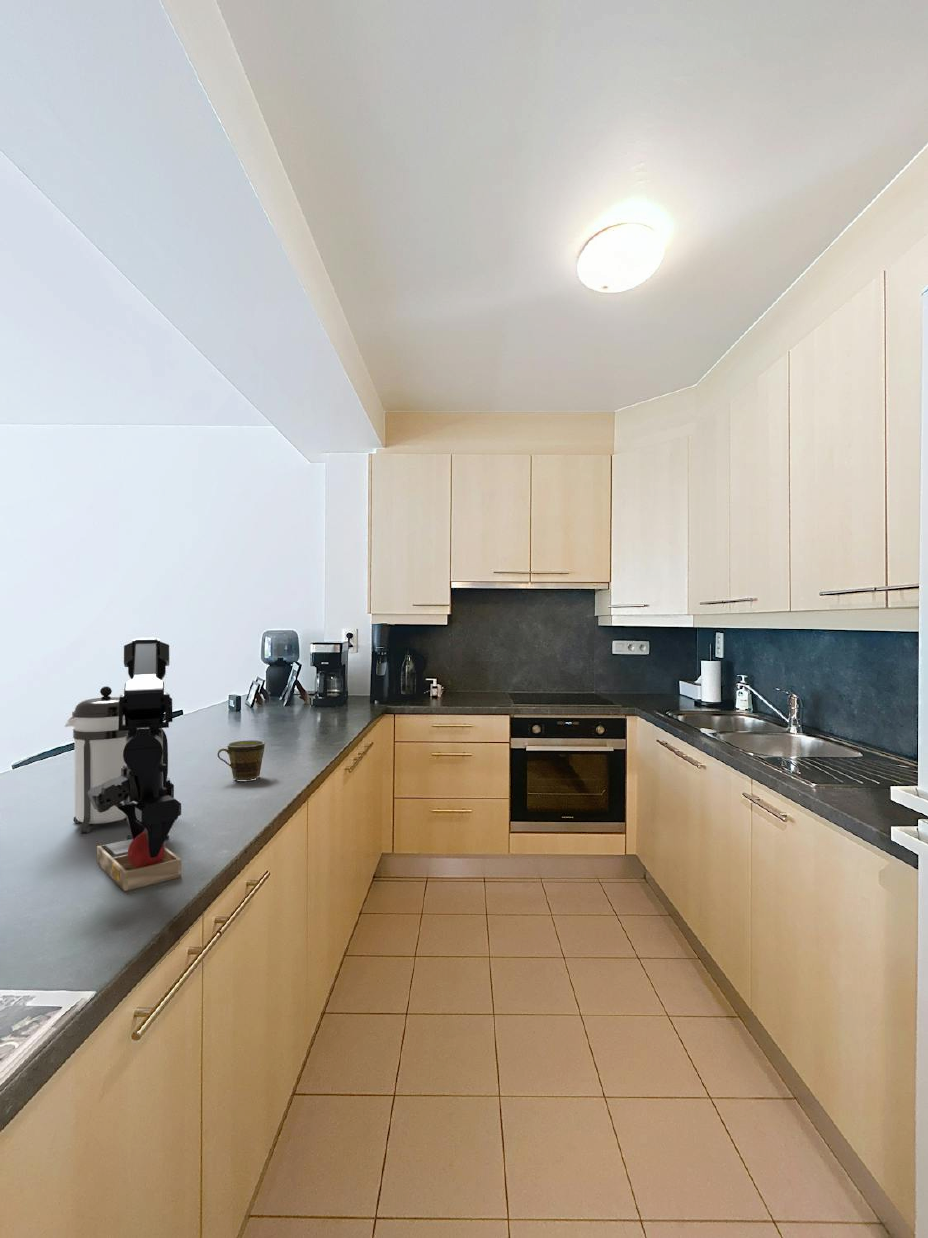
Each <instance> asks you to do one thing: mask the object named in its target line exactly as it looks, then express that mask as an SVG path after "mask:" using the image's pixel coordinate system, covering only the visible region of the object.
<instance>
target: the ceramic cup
mask: <svg viewBox="0 0 928 1238" xmlns="http://www.w3.org/2000/svg"><path fill="white" fill-rule="evenodd" d="M265 744H266V742H265V741H263V740H255V739H254V740H253V739H251V740H250V739H249V740H238V741H233V742H230V743H228V744H227V745H226V746H227V747H226V748H221V749H219V750H218V752H217V754H216V755H217V758H218V759H219V760H221V761H222V762H224V763H225V764H226V765H228V766H229V768H231V773H232V779H233V780H234V779H235V780H251V779H255V778H257V777H258V776H259V777H260V774H261V769H262V763H263V757H264V752H265ZM223 751H224V752H226V753H227V754H228V757H229V761H230V763H229V762H227V761H226V760H225V759H223V758H222V757H221V756H220V753H221V752H223Z"/></svg>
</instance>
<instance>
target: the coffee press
mask: <svg viewBox="0 0 928 1238" xmlns="http://www.w3.org/2000/svg"><path fill="white" fill-rule="evenodd" d="M112 692H113V690H112V688H111V687H110V686H103V687H101V689H100V691H99V693H100V695H101V697H96V698H90V699H85V700H82V701H81V702H78V704H77V705H76V706H75V708H74V711H72V713H71V716H70V717H69V719H68V720H67V721H66V723H65V724H64V728H66V727H67V728H68V727H73V730H72V739H74V816H73V820H72V821H73V823H75V824H79V823H81V826H80V828H79V832H80V833H81V834H89V833H90V832H91V831H92V829H93V827H94V826H95V825H98V824H107V823H113V822H117V821H120V820H121V821H122V820H125V821H127V819H126V815H125V814H124V812H123V811H121V810H120V809H118V808H117V807H116V806H115V805H114V806H112V807H110V809H109V810H107V811H105V812H101V813H99V812H98V811H97V810H96V809H94V807H93V804H92V802H91V800H90V798H89V795H88V793H87V792H88V791H89V790H90V789H92V788H94V787H96V786H99V785H101V784H103V783H105V782H107V781H109V780H111V779H114V778H116V777H119V776H121V768H123V766H125V765H126V763H125V761H124V759H123V751H124V748H125V744H126V734H127V733H128V731H129V730H125V731H118V725H119V698H120V696H115V697H114V696H110V695H112ZM123 724H125V715H123ZM161 730H162V731H163V764H165V765H167V771H166V778H168V775H169V773H168V771H169V748H168V745H169V743H168V737H167V734H166V731H164V728H161Z"/></svg>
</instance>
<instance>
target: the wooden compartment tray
mask: <svg viewBox="0 0 928 1238" xmlns="http://www.w3.org/2000/svg"><path fill="white" fill-rule="evenodd" d="M132 841H133V839H130V840H128V839H126V840H122V841H115V842H111V843H107V844H102V845H97V846H96V863H97V864H98V866H100V868H101V869H102V870H104V872H105V873H106V874H107V875H108V876H109V877H110V878H111V879H112V880H113V881H114V883H116V884H117V886H119V887H120V888H121V889H122V890H123V891H124V892H127V891H131V890H135V889H139V888H143V887H146V886H150V885H155V884H157V883H162V882H167V881H170V880H173V879H174V880H175V879H178V878H181V877H182V858H181V857H179V856H178V855H176V854H175V853H174V852H172V851H171V850H170V849H169V848H167V847H166V846H165V852H164V856H163V858H162V860H161V861H160V863H158V864H155V865H151V866H147V867H143V868H138V869H136V868H135V867H133V866H132V865H131V864H130V862H129V861H128V849H129V846H130V844H131V842H132Z"/></svg>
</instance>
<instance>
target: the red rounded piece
mask: <svg viewBox="0 0 928 1238" xmlns="http://www.w3.org/2000/svg"><path fill="white" fill-rule="evenodd" d="M165 847H166V846H165V842H164V843H163V846H162V848H161V850H160V852H159V854H158V856H157V857H153V858H151V857H150V854H149V849H148V844H147V838H146V832H145V830H144V831H143V832H142V833H140V834H139V835H138V836H136V837H135V838H134V839H133V841H132V842H131V844H130V846H129V849H128V861H129V862H130V864H131V865H132V866H133V867H135V868H136V869H138V868H143V867H147V866H151V865H155V864H158V863H160V861H161V860H162V858H163V856H164V852H165Z"/></svg>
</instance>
